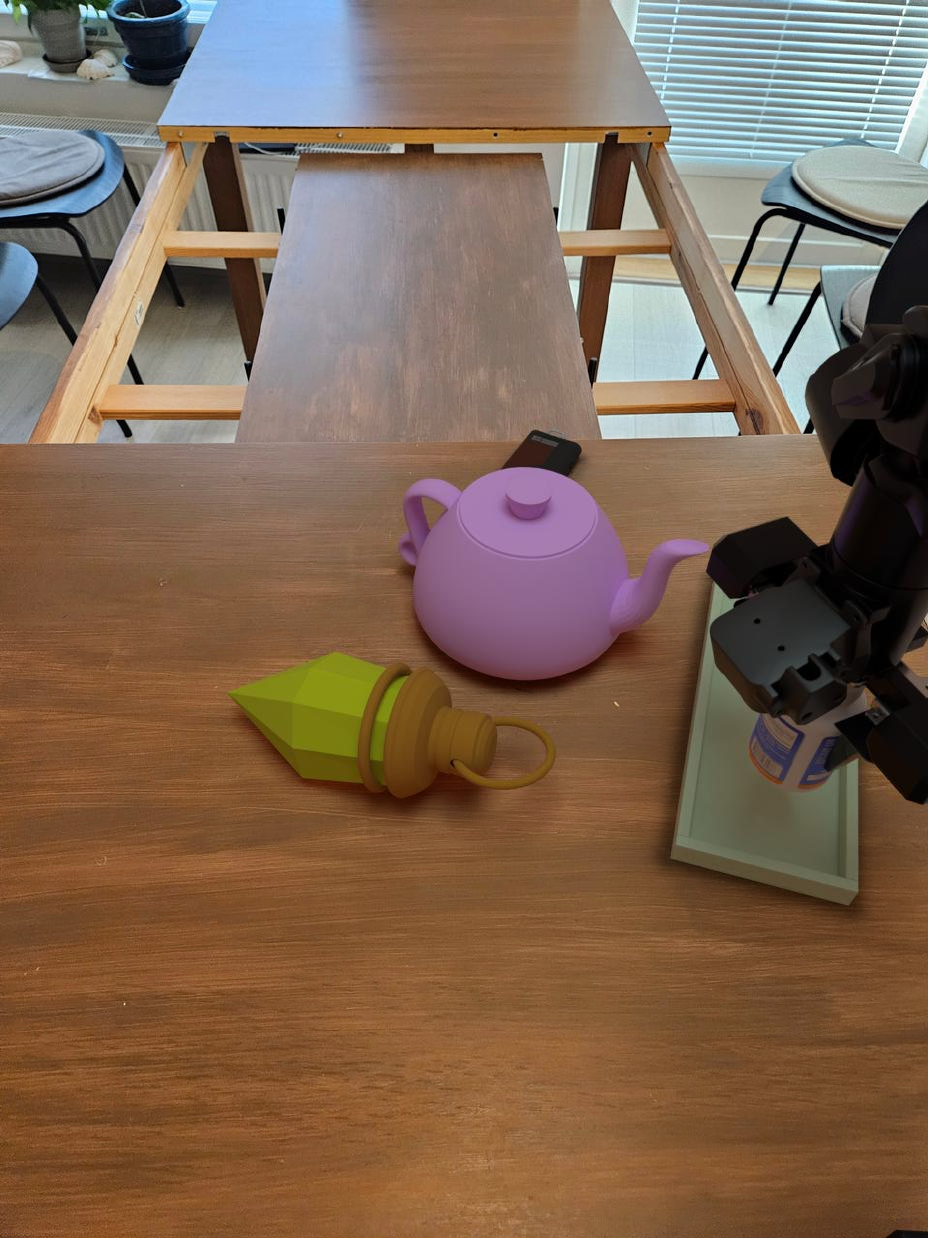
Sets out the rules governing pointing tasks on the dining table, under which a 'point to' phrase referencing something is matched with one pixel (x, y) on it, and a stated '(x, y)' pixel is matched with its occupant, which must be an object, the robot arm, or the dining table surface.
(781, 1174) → the dining table surface
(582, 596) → the teapot
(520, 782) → the plumb bob
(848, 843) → the tray
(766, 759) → the pill bottle
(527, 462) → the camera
